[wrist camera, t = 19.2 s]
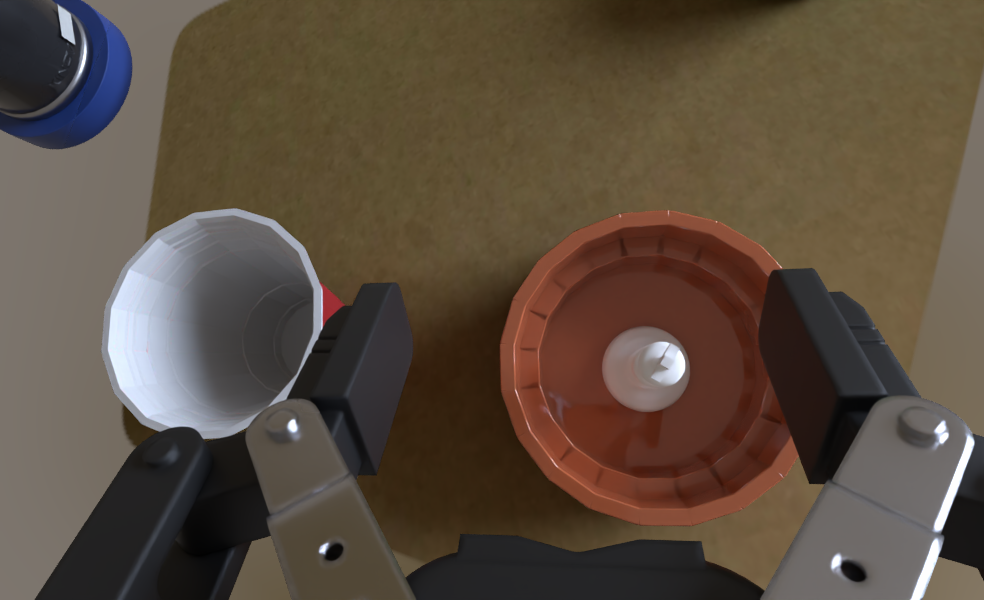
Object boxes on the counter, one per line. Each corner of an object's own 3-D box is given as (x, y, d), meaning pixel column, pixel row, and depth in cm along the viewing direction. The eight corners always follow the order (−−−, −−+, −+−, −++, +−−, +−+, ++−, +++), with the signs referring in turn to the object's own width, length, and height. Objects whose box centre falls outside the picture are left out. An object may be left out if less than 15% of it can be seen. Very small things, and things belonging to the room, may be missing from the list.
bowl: (482, 454, 35) (463, 467, 30) (552, 211, 37) (546, 181, 31) (749, 542, 32) (780, 573, 27) (814, 273, 34) (856, 252, 28)
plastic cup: (433, 305, 37) (360, 269, 26) (348, 456, 37) (234, 489, 25) (298, 230, 40) (175, 164, 28) (217, 370, 39) (57, 364, 27)
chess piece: (705, 354, 34) (753, 341, 24) (662, 428, 33) (691, 446, 24) (629, 310, 35) (644, 282, 25) (586, 382, 34) (584, 382, 25)
